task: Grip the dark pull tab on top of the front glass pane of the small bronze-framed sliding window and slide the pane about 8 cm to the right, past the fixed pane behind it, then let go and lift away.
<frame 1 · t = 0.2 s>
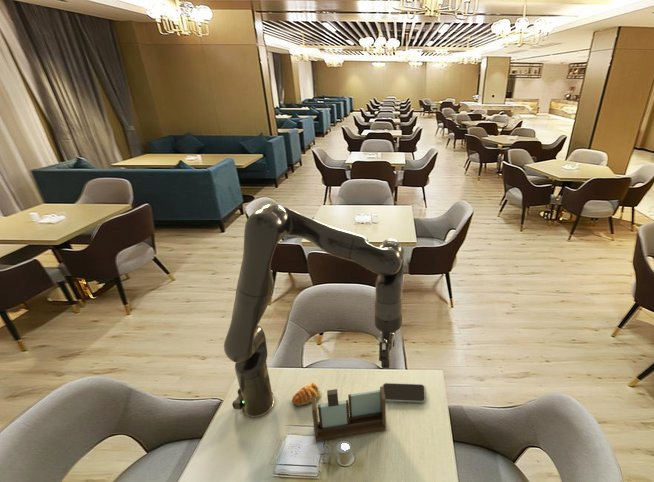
hand: (388, 356, 102), 29 cm above the table, tool pointing down, fingers open, 8 cm apart
pastry: (308, 398, 124), on the table
smartphone: (403, 394, 126), on the table
sash: (333, 409, 108), point 10 cm above the table, slide at 0.0 cm
window frame: (350, 427, 113), on the table
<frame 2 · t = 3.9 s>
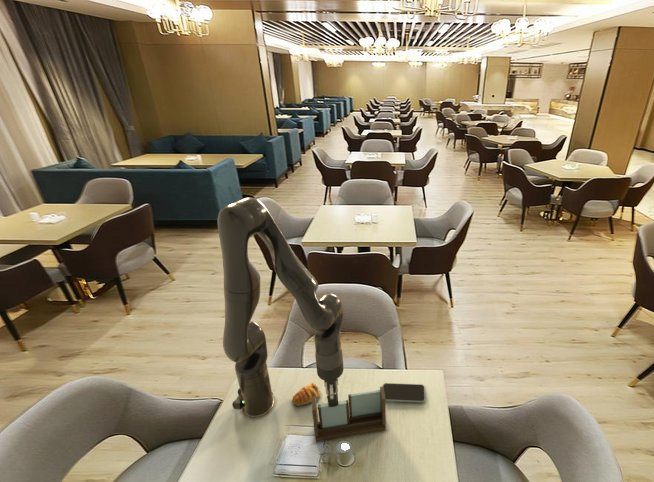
hand: (333, 402, 107), 13 cm above the table, tool pointing down, fingers closed on sash, 2 cm apart
sash: (333, 409, 108), point 10 cm above the table, slide at 0.0 cm, touching gripper
everything else where it was.
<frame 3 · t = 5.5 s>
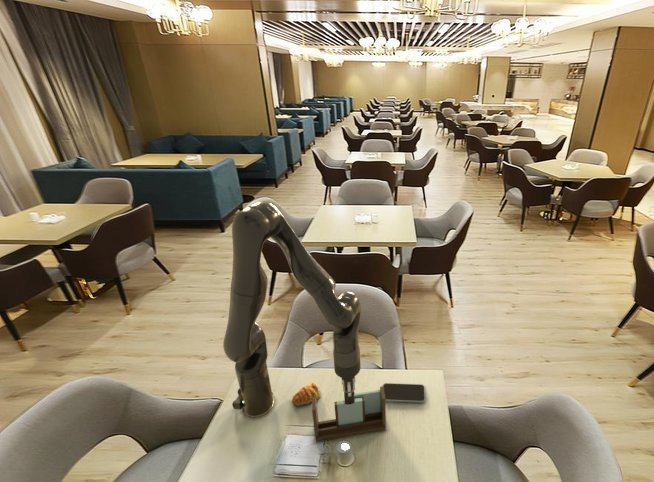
hand: (349, 400, 108), 13 cm above the table, tool pointing down, fingers closed on sash, 2 cm apart
sash: (349, 407, 109), point 10 cm above the table, slide at 4.9 cm, touching gripper
everything else where it was.
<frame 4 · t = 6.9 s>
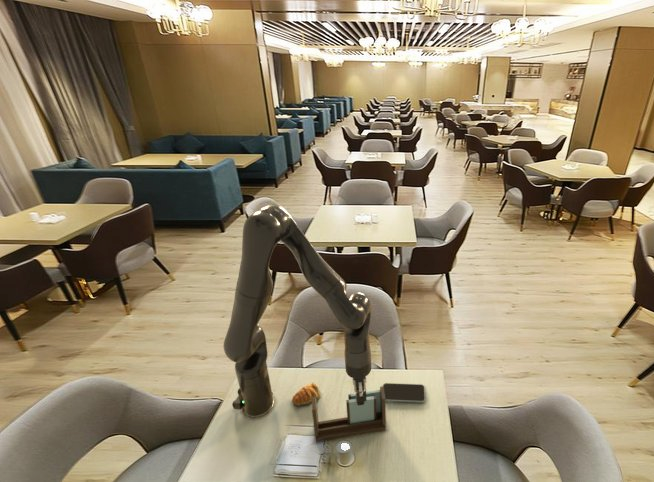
hand: (360, 400, 109), 12 cm above the table, tool pointing down, fingers closed
sash: (361, 405, 110), point 10 cm above the table, slide at 8.6 cm
everything else where it was.
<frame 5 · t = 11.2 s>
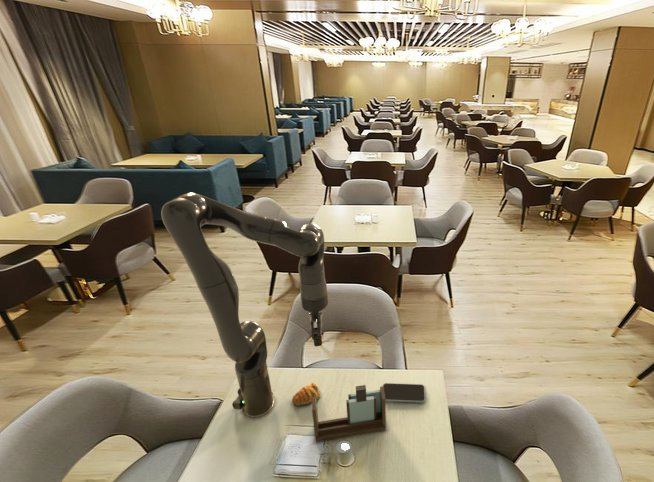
hand: (318, 336, 108), 30 cm above the table, tool pointing down, fingers open, 8 cm apart
nothing on the table moved.
at the end: sash slide at 8.6 cm; the gripper is holding nothing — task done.
